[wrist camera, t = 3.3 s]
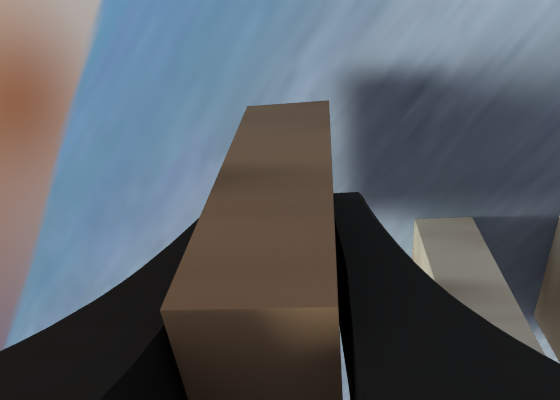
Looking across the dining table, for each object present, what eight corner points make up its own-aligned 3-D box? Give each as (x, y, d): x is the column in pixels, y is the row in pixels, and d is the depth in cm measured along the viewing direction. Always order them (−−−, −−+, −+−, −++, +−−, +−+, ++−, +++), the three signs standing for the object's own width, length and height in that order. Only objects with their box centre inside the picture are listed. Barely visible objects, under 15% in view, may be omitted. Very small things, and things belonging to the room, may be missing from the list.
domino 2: (457, 317, 19) (522, 498, 13) (408, 317, 19) (449, 496, 13) (471, 216, 16) (560, 385, 10) (414, 219, 16) (469, 384, 10)
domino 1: (336, 263, 13) (348, 533, 7) (270, 265, 14) (229, 529, 8) (328, 100, 11) (337, 306, 5) (247, 106, 11) (159, 310, 5)
